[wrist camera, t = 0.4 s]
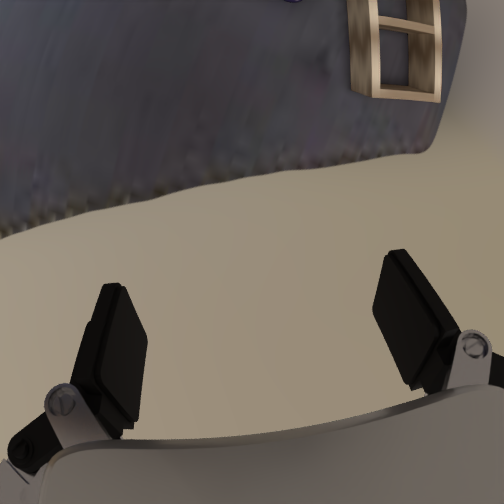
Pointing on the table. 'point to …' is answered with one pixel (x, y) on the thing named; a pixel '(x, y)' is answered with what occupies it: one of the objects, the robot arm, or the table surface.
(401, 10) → the table surface
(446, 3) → the table surface
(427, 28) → the rack
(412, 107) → the table surface
